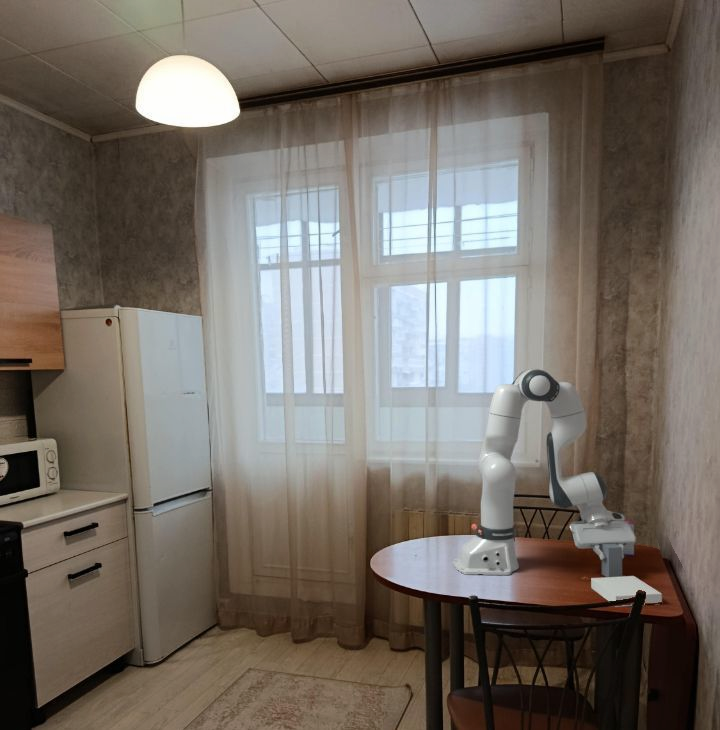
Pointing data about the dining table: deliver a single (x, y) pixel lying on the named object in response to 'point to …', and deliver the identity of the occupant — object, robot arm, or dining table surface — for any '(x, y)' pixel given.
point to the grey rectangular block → (612, 560)
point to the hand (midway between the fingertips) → (612, 558)
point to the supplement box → (629, 549)
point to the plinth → (624, 589)
